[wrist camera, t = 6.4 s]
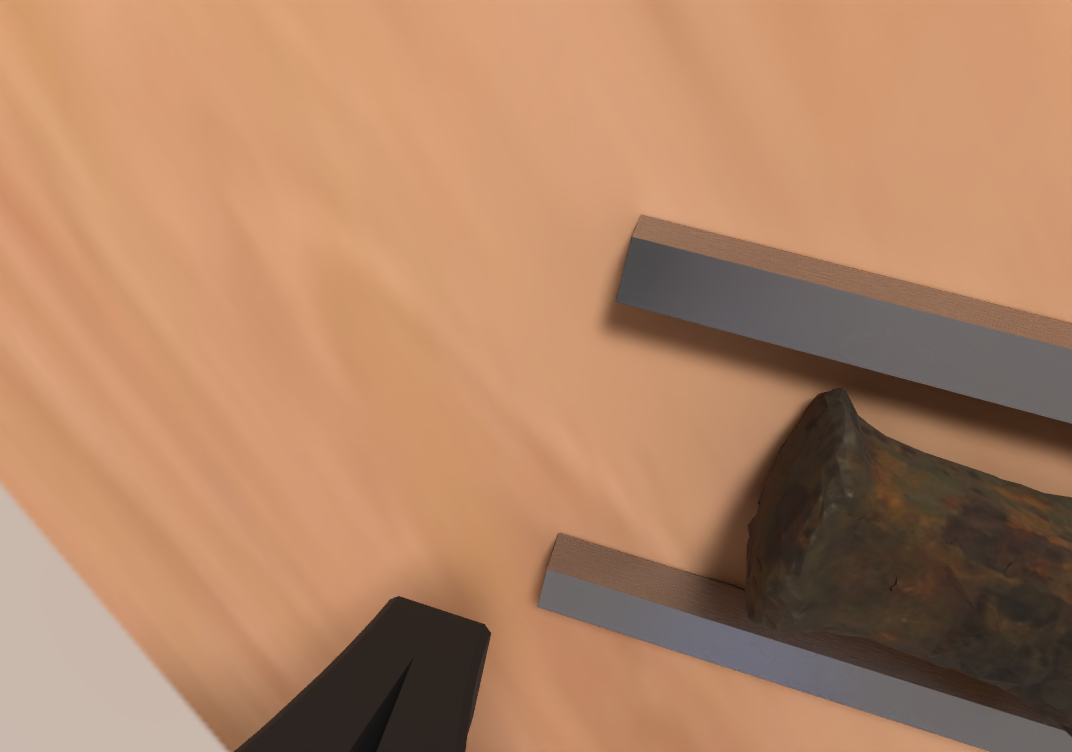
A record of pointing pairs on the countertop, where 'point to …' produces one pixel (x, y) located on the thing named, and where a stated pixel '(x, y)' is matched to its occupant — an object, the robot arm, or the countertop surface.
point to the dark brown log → (915, 557)
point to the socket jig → (853, 338)
